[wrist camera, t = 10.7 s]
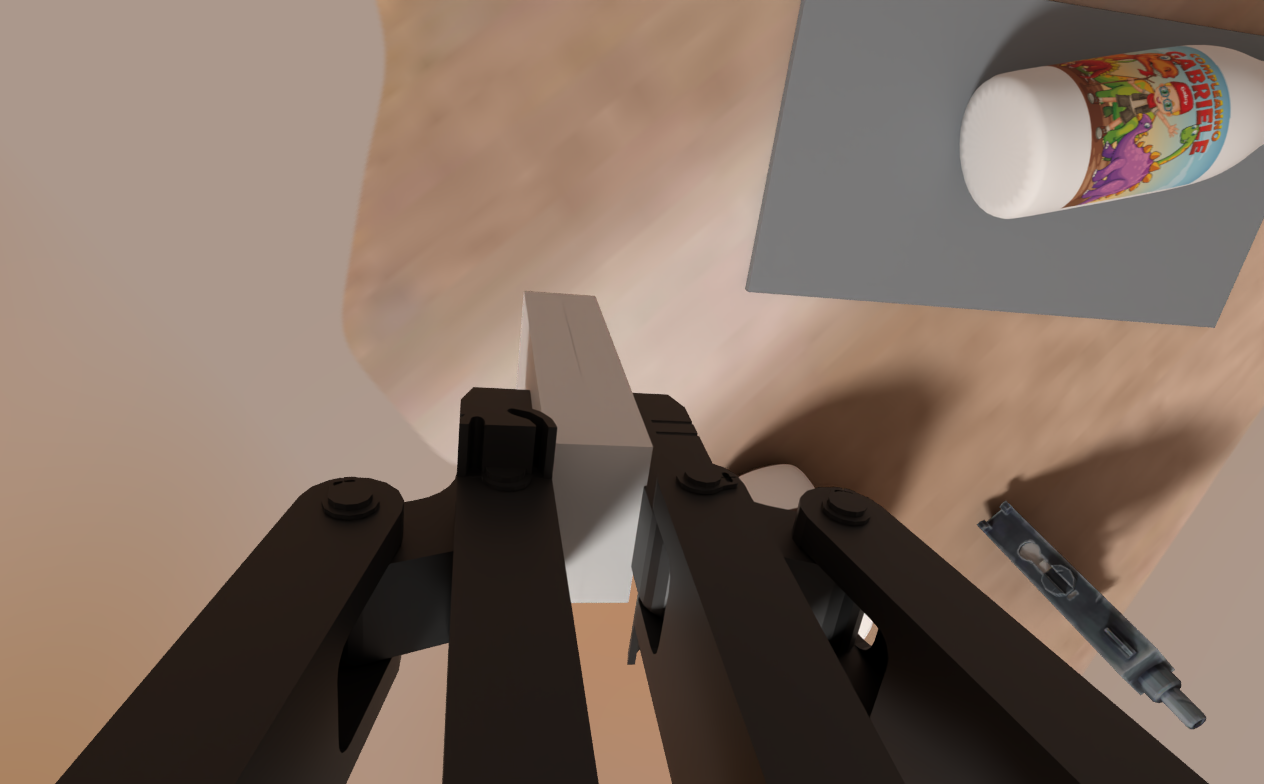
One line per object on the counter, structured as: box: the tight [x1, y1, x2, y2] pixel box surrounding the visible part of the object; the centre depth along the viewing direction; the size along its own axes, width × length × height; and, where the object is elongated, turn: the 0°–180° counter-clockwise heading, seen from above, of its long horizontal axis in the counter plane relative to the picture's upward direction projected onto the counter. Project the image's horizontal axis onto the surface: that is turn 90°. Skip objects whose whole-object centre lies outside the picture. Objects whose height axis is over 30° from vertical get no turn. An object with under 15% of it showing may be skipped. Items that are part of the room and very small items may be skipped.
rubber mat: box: [745, 0, 1264, 328], centre depth 50 cm, size 34×18×1 cm, turn 82°
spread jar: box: [738, 464, 873, 639], centre depth 53 cm, size 12×11×12 cm
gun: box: [977, 501, 1206, 729], centre depth 58 cm, size 3×17×15 cm
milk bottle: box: [959, 45, 1264, 219], centre depth 46 cm, size 8×8×20 cm
